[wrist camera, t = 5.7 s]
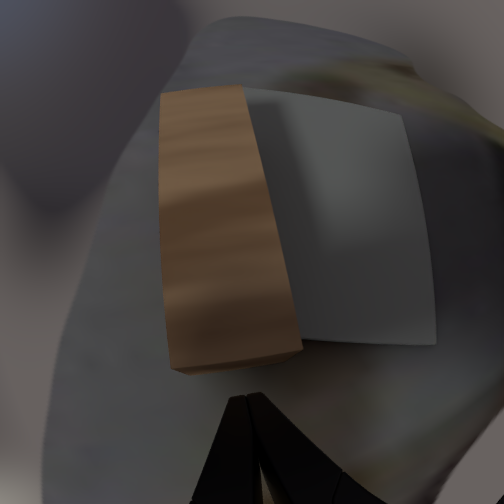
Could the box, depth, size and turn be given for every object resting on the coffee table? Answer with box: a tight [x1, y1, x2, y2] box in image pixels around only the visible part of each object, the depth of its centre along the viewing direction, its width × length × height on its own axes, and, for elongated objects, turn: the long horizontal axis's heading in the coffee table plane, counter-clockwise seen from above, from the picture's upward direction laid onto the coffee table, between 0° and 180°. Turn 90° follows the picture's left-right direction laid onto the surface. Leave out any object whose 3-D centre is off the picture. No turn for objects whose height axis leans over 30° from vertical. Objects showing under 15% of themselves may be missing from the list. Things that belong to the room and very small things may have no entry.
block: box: [159, 84, 303, 376], centre depth 15 cm, size 4×4×14 cm
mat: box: [243, 88, 437, 345], centre depth 19 cm, size 18×14×1 cm
